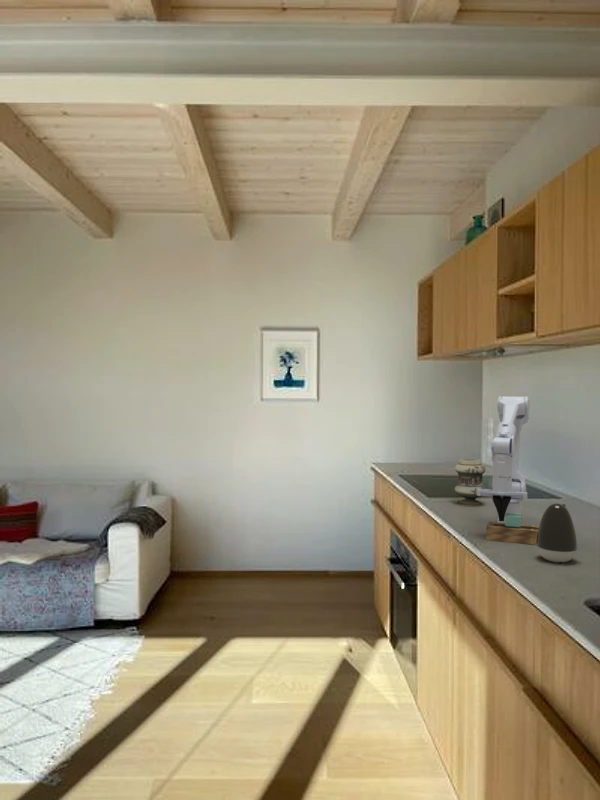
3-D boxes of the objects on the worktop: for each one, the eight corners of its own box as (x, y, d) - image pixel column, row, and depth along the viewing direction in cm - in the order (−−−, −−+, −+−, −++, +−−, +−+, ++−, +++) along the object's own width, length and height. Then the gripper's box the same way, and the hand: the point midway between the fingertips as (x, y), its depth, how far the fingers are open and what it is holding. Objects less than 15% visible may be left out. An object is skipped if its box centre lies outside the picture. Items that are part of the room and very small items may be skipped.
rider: (504, 533, 187) (505, 515, 187) (506, 529, 192) (506, 512, 191) (520, 534, 185) (520, 517, 185) (521, 530, 190) (521, 514, 190)
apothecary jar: (464, 500, 255) (465, 456, 255) (491, 504, 247) (492, 459, 247) (448, 503, 247) (449, 458, 247) (475, 508, 238) (476, 461, 238)
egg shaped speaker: (582, 559, 166) (583, 503, 166) (569, 567, 159) (570, 508, 158) (544, 552, 173) (545, 498, 173) (530, 560, 165) (531, 503, 165)
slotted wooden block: (485, 539, 187) (486, 518, 187) (489, 534, 195) (489, 513, 195) (572, 548, 178) (572, 526, 178) (572, 542, 186) (572, 520, 185)
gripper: (476, 476, 189) (475, 520, 189) (526, 479, 183) (525, 525, 183) (479, 473, 195) (478, 516, 195) (528, 476, 189) (527, 521, 189)
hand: (501, 520), depth 190 cm, fingers closed
